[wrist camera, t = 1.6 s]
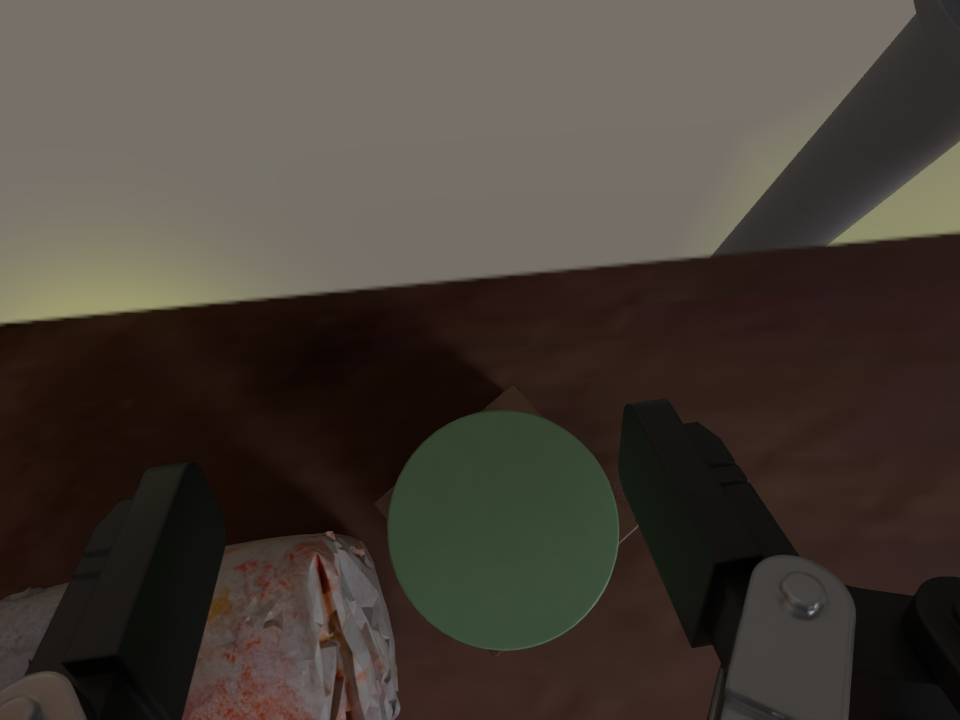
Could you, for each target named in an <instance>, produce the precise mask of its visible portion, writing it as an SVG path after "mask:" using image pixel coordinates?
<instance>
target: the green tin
mask: <svg viewBox="0 0 960 720" xmlns="http://www.w3.org/2000/svg"><path fill="white" fill-rule="evenodd" d="M387 539H388V546H389V554H390V557H391V561H392V565H393V569H394V571H395V574H396V576H397V578H398V581H399V583H400V585H401V587H402V589H403V590H404V592H405V594H406V596H407V597H408V599H409V600H410V601H411V603H412V604H413V605H414V607H415V608H416V609H417V610H418V612H419V613H420V614H421V615H422V616H423V617H424V618H425V619H426V620H427V621H428V622H430V623H431V624H432V625H434V626H435V627H436V628H437V629H439V630H440V631H442V632H443V633H445V634H447V635H448V636H450V637H452V638H454V639H456V640H458V641H461V642H463V643H465V644H468V645H471V646H475V647H479V648H483V649H490V650H499V651H502V650H519V649H525V648H531V647H534V646H537V645H540V644H543V643H546V642H548V641H550V640H553V639H555V638H557V637H559V636H561V635H562V634H564V633H565V632H567V631H568V630H570V629H571V628H573V627H574V626H575V625H576V624H577V623H578V622H580V621H581V620H582V619H583V618H584V617H585V616H586V615H587V614H588V613H589V611H590V610H591V609H592V608H593V607H594V605H595V604H596V603H597V601H598V600H599V598H600V597H601V595H602V593H603V592H604V590H605V588H606V586H607V584H608V582H609V579H610V577H611V575H612V572H613V568H614V565H615V562H616V557H617V551H618V545H619V519H618V511H617V506H616V502H615V497H614V494H613V492H612V489H611V486H610V483H609V481H608V479H607V477H606V475H605V473H604V471H603V469H602V467H601V466H600V464H599V463H598V461H597V460H596V459H595V457H594V456H593V454H592V453H591V452H590V451H589V450H588V449H587V448H586V446H585V445H584V444H583V443H582V442H580V441H579V440H578V439H577V438H576V437H575V436H574V435H573V434H571V433H570V432H568V431H567V430H565V429H564V428H562V427H561V426H559V425H557V424H555V423H553V422H551V421H549V420H547V419H545V418H542V417H539V416H536V415H534V414H529V413H525V412H520V411H511V410H492V411H484V412H479V413H474V414H471V415H468V416H465V417H461V418H459V419H457V420H455V421H453V422H451V423H449V424H447V425H445V426H444V427H442V428H441V429H439V430H437V431H436V432H435V433H433V434H432V435H431V436H430V437H429V438H427V439H426V440H425V441H424V442H423V443H422V444H421V445H420V446H419V447H418V448H417V449H416V451H415V452H414V453H413V454H412V456H411V457H410V458H409V460H408V461H407V463H406V464H405V466H404V468H403V470H402V471H401V473H400V475H399V477H398V479H397V482H396V485H395V487H394V490H393V493H392V497H391V501H390V505H389V511H388V520H387Z"/></svg>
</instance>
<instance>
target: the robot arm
mask: <svg viewBox="0 0 960 720" xmlns="http://www.w3.org/2000/svg"><path fill="white" fill-rule="evenodd" d="M618 466H619V475H620V480H621V484H622V488H623V491H624V493H625V496H626V498H627V500H628V503H629V505H630V507H631V509H632V512H633V514H634V516H635V519H636V521H637V523H638V526H639V528H640V530H641V532H642V535H643V537H644V539H645V542H646V544H647V546H648V549H649V551H650V553H651V555H652V558H653V560H654V562H655V565H656V567H657V569H658V572H659V574H660V576H661V578H662V581H663V583H664V585H665V588H666V590H667V592H668V595H669V597H670V599H671V601H672V604H673V606H674V608H675V611H676V613H677V615H678V618H679V620H680V622H681V624H682V627H683V629H684V631H685V634H686V636H687V638H688V641H689V643H690V645H691V647H692V648H695V647H701V646H707V645H713V647H714V649H715V651H716V653H717V655H718V657H719V659H720V662H721V665H720V668H719V671H718V675H717V680H716V684H715V688H714V692H713V696H712V700H711V704H710V708H709V712H708V716H707V720H960V578H957V577H937V578H932V579H930V580H927V581H926V582H924V583H923V584H922V585H921V586H920V588H919V589H918V590H917V592H916V594H915V595H914V596H910V595H903V594H896V593H888V592H881V591H874V590H867V589H861V588H856V587H851V586H848V585H845V584H843V583H842V582H841V581H840V579H838V578H837V577H836V576H835V575H834V574H833V573H832V572H830V571H829V570H827V569H826V568H825V567H823V566H821V565H819V564H817V563H816V562H813V561H811V560H808V559H806V558H802V557H800V556H799V554H798V553H797V552H796V551H795V549H794V548H793V546H792V545H791V543H790V542H789V540H788V539H787V537H786V536H785V534H784V533H783V532H782V530H781V529H780V527H779V526H778V524H777V523H776V521H775V520H774V518H773V517H772V515H771V514H770V512H769V511H768V509H767V508H766V506H765V505H764V503H763V502H762V500H761V499H760V497H759V496H758V494H757V493H756V491H755V490H754V488H753V487H752V485H751V484H750V483H748V482H747V478H746V476H745V475H744V473H743V472H742V470H741V469H740V467H739V466H738V465H736V464H735V460H734V458H733V457H732V456H731V454H730V453H729V451H728V450H727V448H726V447H725V445H724V444H723V442H722V441H721V439H720V438H718V437H717V436H716V435H714V434H713V433H712V432H710V431H709V430H708V429H706V428H705V427H704V426H702V425H701V424H700V423H698V422H693V423H686V424H683V423H682V421H681V420H680V418H679V417H678V415H677V413H676V412H675V410H674V408H673V407H672V405H671V404H670V402H669V401H668V400H666V399H661V400H653V401H646V402H639V403H631V404H627V405H626V406H625V408H624V413H623V422H622V431H621V441H620V450H619V460H618ZM225 545H226V528H225V522H224V518H223V515H222V513H221V511H220V509H219V507H218V504H217V502H216V500H215V498H214V496H213V494H212V492H211V490H210V488H209V485H208V483H207V481H206V479H205V477H204V475H203V473H202V471H201V469H200V467H199V466H198V464H196V463H195V462H187V463H180V464H172V465H165V466H158V467H151V468H149V469H147V470H146V472H145V473H144V475H143V477H142V479H141V481H140V484H139V486H138V488H137V490H136V493H135V495H134V497H133V499H130V500H123V501H119V502H118V503H117V504H116V506H115V507H114V508H113V509H112V510H111V511H110V512H109V513H108V514H107V515H106V516H105V517H104V518H103V519H102V521H101V522H100V523H99V524H98V525H97V526H96V528H95V530H94V532H93V534H92V536H91V538H90V540H89V542H88V544H87V547H86V549H85V551H84V553H83V554H84V558H82V559H80V561H79V563H78V565H77V567H76V569H75V572H74V574H73V581H71V582H69V584H68V586H67V588H66V590H65V592H64V594H63V597H62V599H61V601H60V603H59V605H58V607H57V609H56V611H55V613H54V615H53V617H52V619H51V621H50V624H49V626H48V628H47V630H46V632H45V634H44V636H43V638H42V640H41V642H40V644H39V646H38V649H37V651H36V653H35V655H34V657H33V659H32V661H31V663H30V665H29V667H28V669H27V671H26V673H25V674H24V676H23V677H21V678H19V679H16V680H14V681H12V682H11V683H9V684H7V685H6V686H4V687H2V688H1V689H0V720H182V717H183V713H184V709H185V705H186V701H187V697H188V693H189V689H190V685H191V681H192V677H193V673H194V669H195V665H196V661H197V657H198V653H199V650H200V646H201V642H202V638H203V634H204V630H205V626H206V622H207V618H208V614H209V610H210V606H211V602H212V598H213V594H214V590H215V586H216V582H217V579H218V575H219V571H220V567H221V563H222V559H223V555H224V551H225Z"/></svg>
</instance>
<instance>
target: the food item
mask: <svg viewBox="0 0 960 720" xmlns="http://www.w3.org/2000/svg"><path fill="white" fill-rule="evenodd" d="M68 584H69V582H68V583H64V584H60V585H57V586H53V587H50V588H46V589H43V588H41V587H38V588H35V589H33V588H31V587H29V588H28V589H26V590H25V591H23V592H21V593H17V594H11V595H9V596H7V597H6V598H4V599H3V600H1V601H0V689H1V688H2V687H4V686H6V685H7V684H9V683H11V682H12V681H14V680H16V679H19V678H21V677H23V676H24V674H25V673H26V671H27V669H28V667H29V665H30V663H31V661H32V659H33V657H34V655H35V653H36V651H37V649H38V646H39V644H40V642H41V640H42V638H43V636H44V634H45V632H46V630H47V628H48V626H49V624H50V621H51V619H52V617H53V615H54V613H55V611H56V609H57V607H58V605H59V603H60V601H61V599H62V597H63V594H64V592H65V590H66V588H67V586H68ZM397 696H398V681H397V666H396V663H395V642H394V637H393V633H392V628H391V624H390V619H389V615H388V610H387V607H386V604H385V601H384V598H383V595H382V591H381V588H380V584H379V581H378V577H377V574H376V570H375V565H374V562H373V560H372V558H371V556H370V554H369V552H368V550H367V548H366V546H365V545H364V543H363V541H362V540H358V539H356V538H354V537H353V536H349V535H340V534H334V533H333V531H327V532H326V533H323V534H320V533H318V534H305V535H292V536H283V537H274V538H268V539H262V540H256V541H250V542H245V543H239V544H233V545H228V546H225V551H224V555H223V559H222V563H221V567H220V571H219V575H218V579H217V582H216V586H215V590H214V594H213V598H212V602H211V606H210V610H209V614H208V618H207V622H206V626H205V630H204V634H203V638H202V642H201V646H200V650H199V653H198V657H197V661H196V665H195V669H194V673H193V677H192V681H191V685H190V689H189V693H188V697H187V701H186V705H185V709H184V713H183V717H182V720H394V719H396V718H397V716H398V714H399V712H400V703H399V700H398V698H397Z"/></svg>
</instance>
